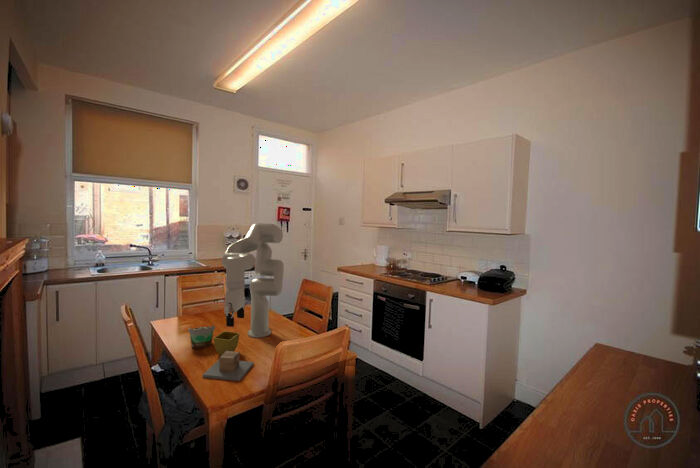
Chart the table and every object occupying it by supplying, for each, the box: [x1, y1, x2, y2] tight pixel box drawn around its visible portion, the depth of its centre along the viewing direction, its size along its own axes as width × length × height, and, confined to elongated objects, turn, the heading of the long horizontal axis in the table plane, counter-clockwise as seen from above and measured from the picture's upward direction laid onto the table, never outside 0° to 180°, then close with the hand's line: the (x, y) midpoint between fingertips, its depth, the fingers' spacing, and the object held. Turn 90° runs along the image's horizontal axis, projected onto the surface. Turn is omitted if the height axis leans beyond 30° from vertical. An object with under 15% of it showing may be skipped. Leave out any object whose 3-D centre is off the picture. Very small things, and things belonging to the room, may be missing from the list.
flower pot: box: [213, 330, 240, 356], centre depth 152 cm, size 9×9×9 cm
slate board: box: [202, 359, 255, 382], centre depth 137 cm, size 14×16×1 cm
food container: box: [187, 324, 216, 350], centre depth 158 cm, size 12×6×10 cm, turn 117°
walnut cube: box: [218, 351, 240, 372], centre depth 137 cm, size 6×6×6 cm
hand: (235, 321), depth 140 cm, fingers open, 9 cm apart
